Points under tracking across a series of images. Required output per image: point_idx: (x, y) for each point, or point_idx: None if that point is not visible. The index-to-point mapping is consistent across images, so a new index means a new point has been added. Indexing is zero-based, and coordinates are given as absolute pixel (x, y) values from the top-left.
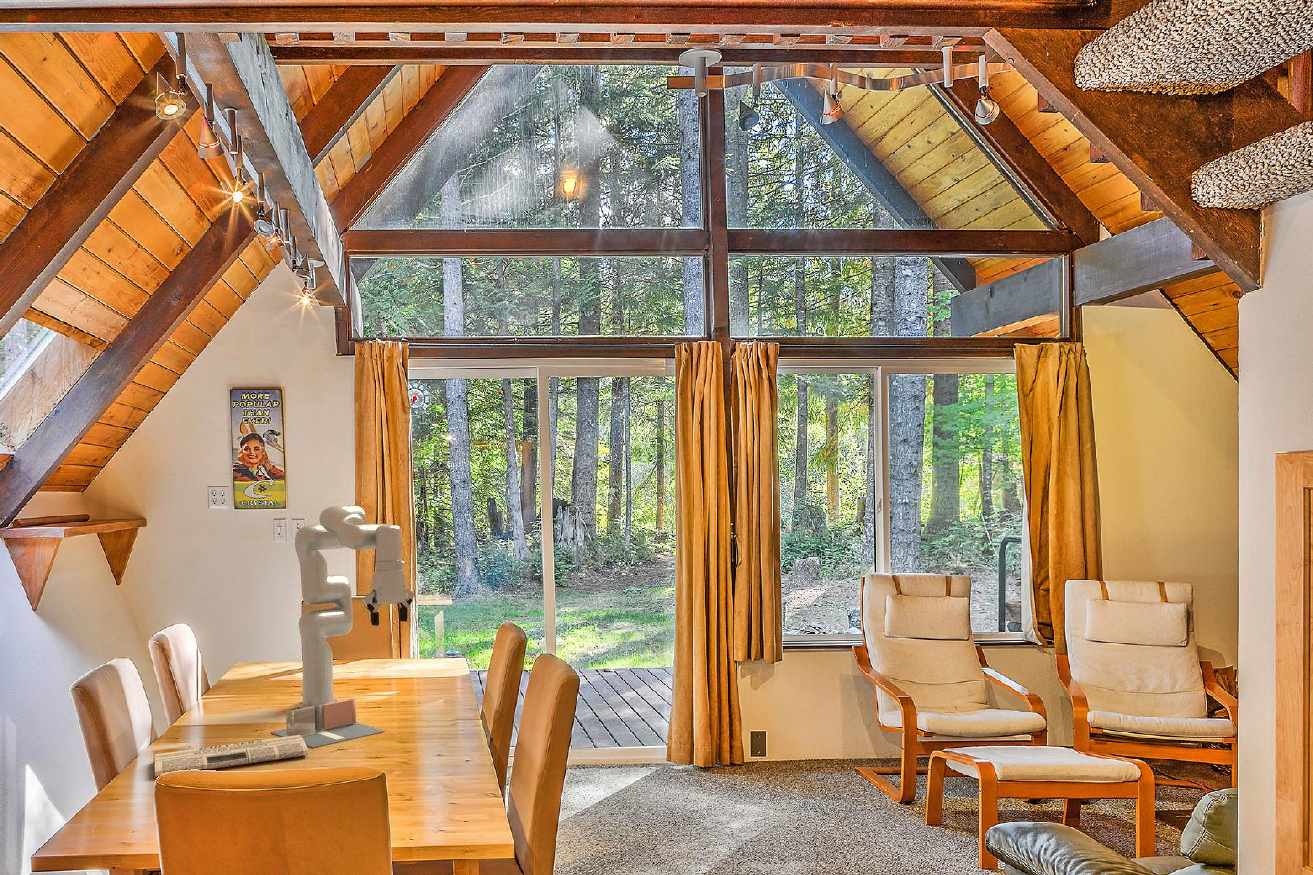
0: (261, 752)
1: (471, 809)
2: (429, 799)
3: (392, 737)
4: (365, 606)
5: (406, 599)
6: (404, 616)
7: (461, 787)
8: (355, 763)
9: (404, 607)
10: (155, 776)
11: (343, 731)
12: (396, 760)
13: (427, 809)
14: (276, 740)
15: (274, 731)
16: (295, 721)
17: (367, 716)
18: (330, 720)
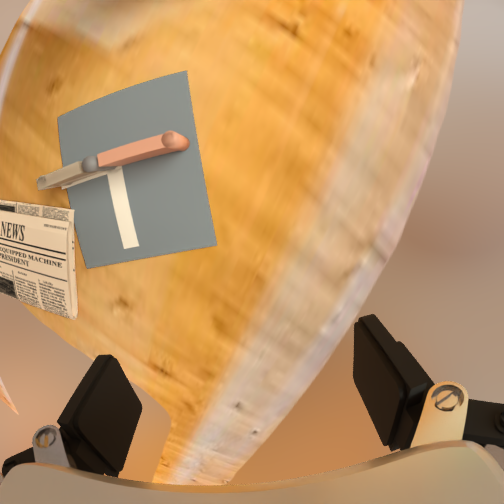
0: (27, 296)
1: None
2: (180, 471)
3: (215, 291)
4: (9, 462)
5: (499, 440)
6: (365, 400)
7: (212, 469)
8: (132, 375)
9: (402, 445)
10: None
11: (149, 194)
12: (181, 395)
13: (173, 478)
14: (37, 250)
15: (62, 117)
16: (59, 184)
17: (240, 87)
18: (127, 162)
